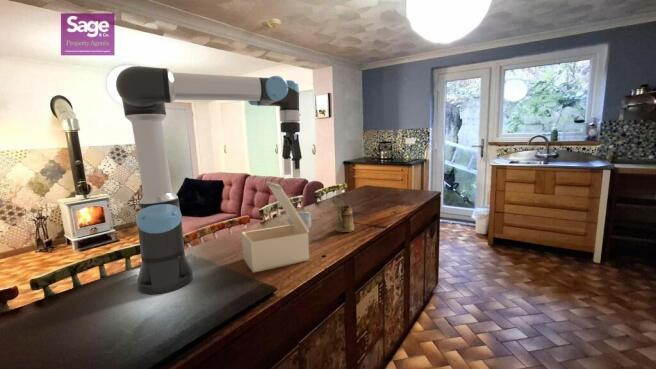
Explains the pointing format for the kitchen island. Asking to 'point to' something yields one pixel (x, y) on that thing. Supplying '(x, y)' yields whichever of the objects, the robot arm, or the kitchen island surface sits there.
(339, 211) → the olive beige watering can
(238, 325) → the kitchen island surface
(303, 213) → the teacup
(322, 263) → the kitchen island surface
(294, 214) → the lid
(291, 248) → the carton
